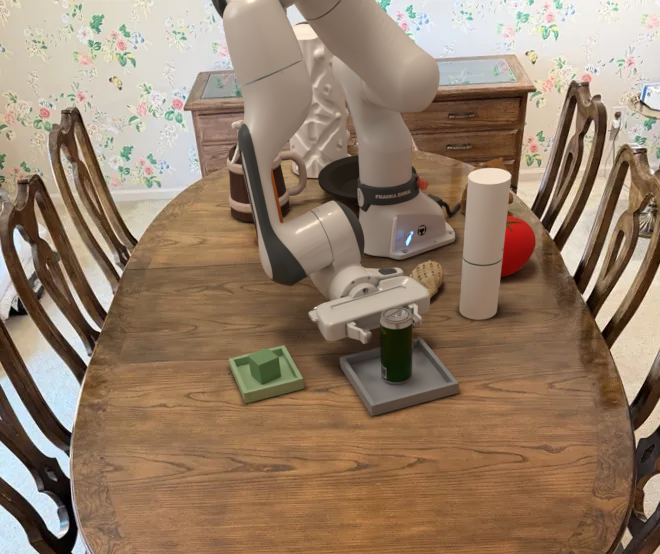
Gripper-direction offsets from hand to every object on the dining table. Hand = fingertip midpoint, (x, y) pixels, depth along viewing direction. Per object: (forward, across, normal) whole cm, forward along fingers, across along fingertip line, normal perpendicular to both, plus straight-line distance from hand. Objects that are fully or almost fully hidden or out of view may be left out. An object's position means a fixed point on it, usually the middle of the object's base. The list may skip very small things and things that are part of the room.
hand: (393, 331), depth 120 cm
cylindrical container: (-11, +24, +9) cm, 28 cm away
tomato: (-23, +36, +9) cm, 44 cm away
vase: (-96, +28, +9) cm, 100 cm away
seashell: (-22, +19, +9) cm, 31 cm away
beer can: (+2, 0, +8) cm, 8 cm away
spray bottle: (-62, -1, +9) cm, 62 cm away
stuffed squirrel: (-46, +47, +9) cm, 66 cm away
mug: (-78, +6, +9) cm, 79 cm away
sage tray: (-10, -20, +8) cm, 24 cm away
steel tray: (+2, 0, +8) cm, 9 cm away
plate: (-71, +30, +9) cm, 77 cm away
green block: (-10, -20, +8) cm, 24 cm away
